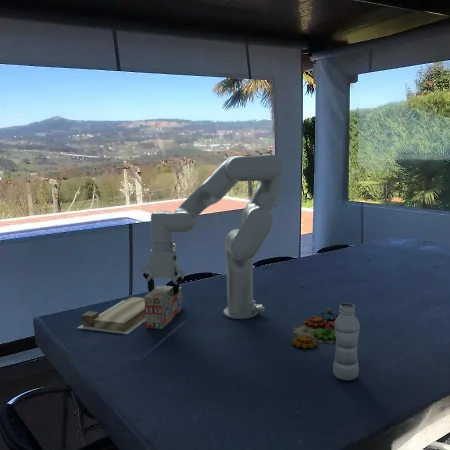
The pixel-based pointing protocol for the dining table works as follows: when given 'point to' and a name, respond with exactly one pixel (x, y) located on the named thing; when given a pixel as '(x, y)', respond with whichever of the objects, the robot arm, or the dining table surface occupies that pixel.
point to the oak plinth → (122, 315)
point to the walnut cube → (89, 318)
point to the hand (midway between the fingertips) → (163, 292)
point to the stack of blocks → (162, 306)
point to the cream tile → (114, 330)
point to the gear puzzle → (316, 330)
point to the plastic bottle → (346, 343)
